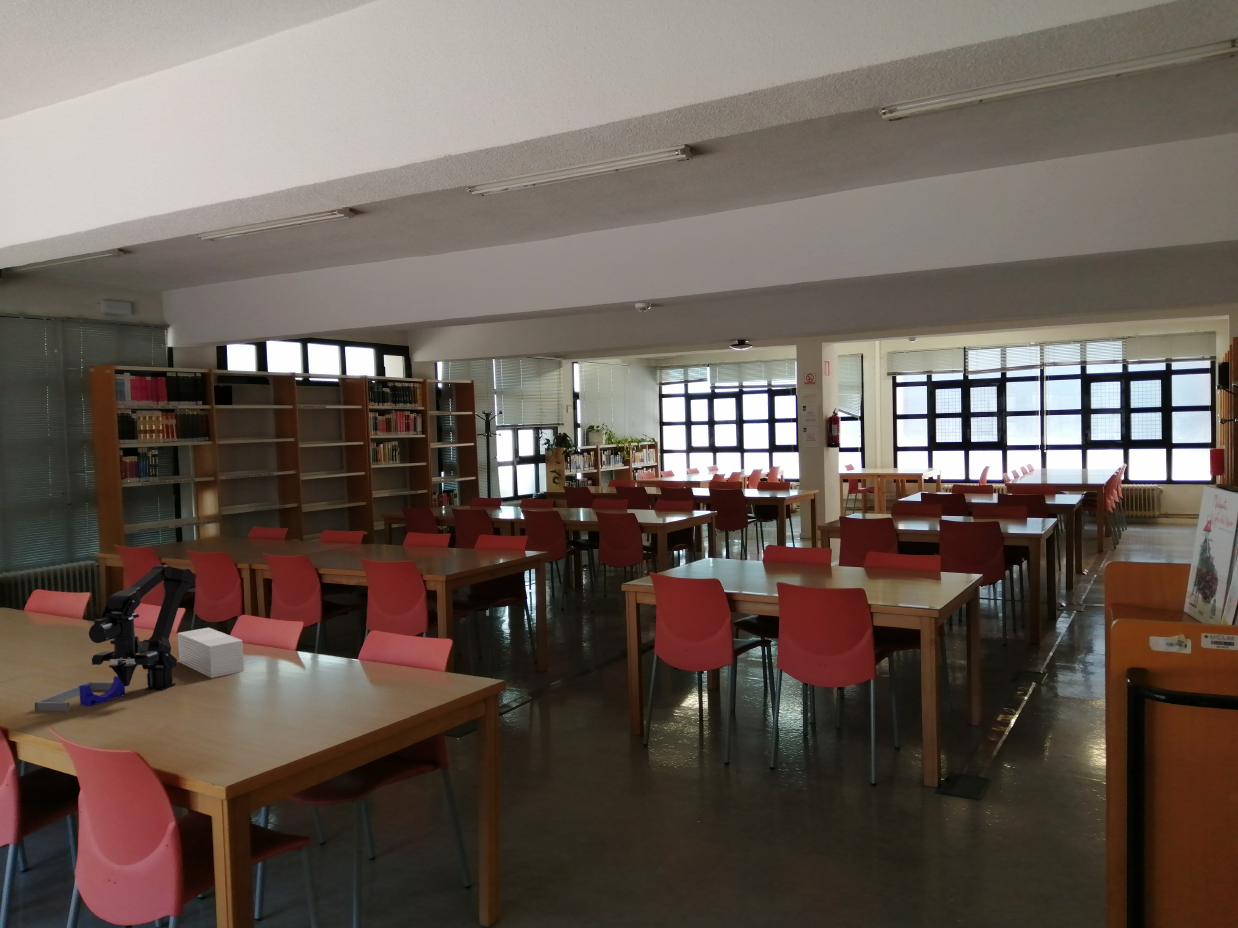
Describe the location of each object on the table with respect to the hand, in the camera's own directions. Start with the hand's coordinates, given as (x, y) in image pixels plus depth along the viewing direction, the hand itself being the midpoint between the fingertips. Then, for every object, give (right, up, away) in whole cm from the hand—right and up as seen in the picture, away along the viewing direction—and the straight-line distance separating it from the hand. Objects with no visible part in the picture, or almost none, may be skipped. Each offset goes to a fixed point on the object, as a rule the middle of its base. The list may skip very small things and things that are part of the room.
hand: (127, 685), depth 267 cm
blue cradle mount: (-8, -5, +2) cm, 10 cm away
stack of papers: (+8, -3, +38) cm, 39 cm away
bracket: (-16, -5, +2) cm, 17 cm away
